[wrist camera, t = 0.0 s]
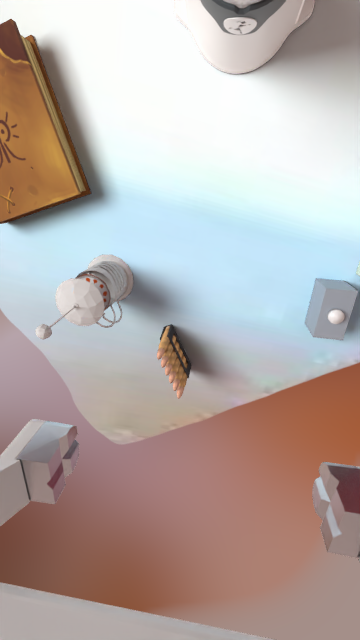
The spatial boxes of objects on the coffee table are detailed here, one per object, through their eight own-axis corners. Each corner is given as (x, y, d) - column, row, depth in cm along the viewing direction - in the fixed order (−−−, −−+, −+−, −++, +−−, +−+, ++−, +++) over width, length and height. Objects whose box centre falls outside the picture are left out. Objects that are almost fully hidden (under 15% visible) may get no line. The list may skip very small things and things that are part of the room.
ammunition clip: (163, 326, 62) (151, 356, 51) (171, 324, 62) (160, 353, 51) (183, 367, 66) (176, 403, 55) (191, 365, 65) (185, 400, 54)
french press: (112, 244, 56) (38, 282, 34) (148, 293, 59) (103, 357, 37) (76, 271, 60) (-13, 322, 37) (112, 316, 63) (50, 389, 40)
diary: (-58, 85, 50) (-91, 72, 45) (35, 38, 46) (10, 18, 40) (8, 222, 58) (-14, 226, 53) (92, 193, 54) (78, 194, 48)
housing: (315, 278, 54) (328, 290, 48) (344, 280, 53) (360, 293, 47) (304, 323, 58) (314, 339, 51) (331, 325, 57) (344, 342, 51)
